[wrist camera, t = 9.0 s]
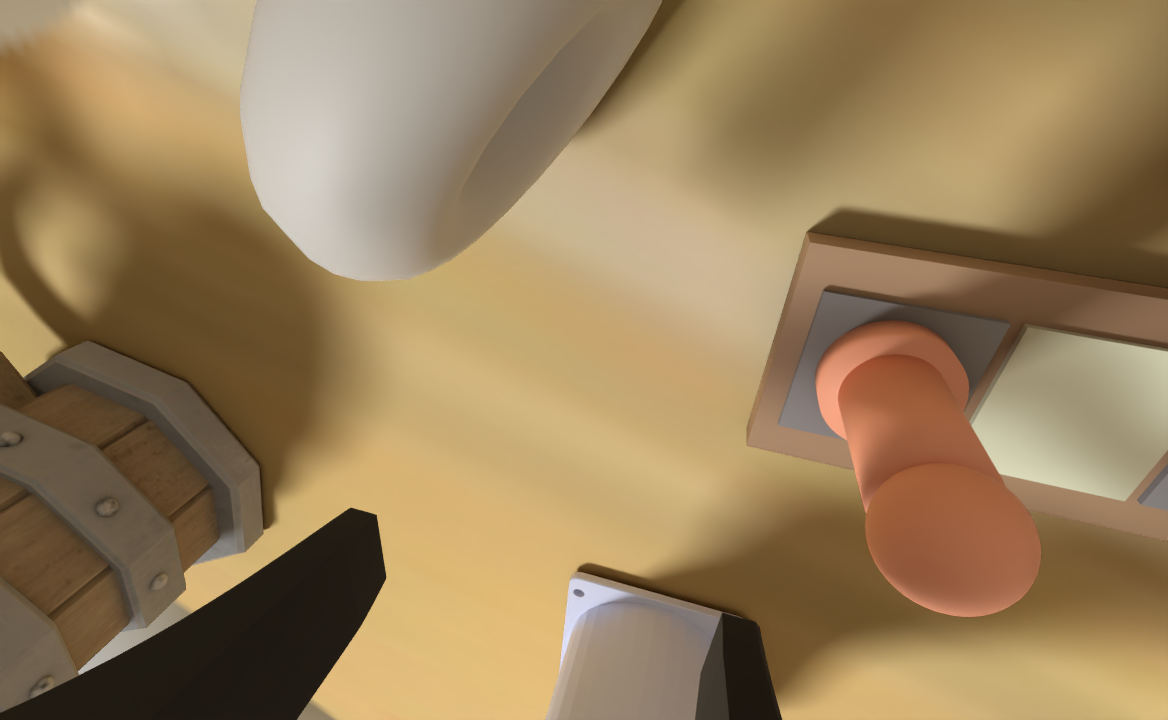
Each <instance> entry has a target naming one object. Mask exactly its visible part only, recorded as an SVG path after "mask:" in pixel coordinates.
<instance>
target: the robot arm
mask: <svg viewBox="0 0 1168 720" xmlns="http://www.w3.org/2000/svg"><path fill="white" fill-rule="evenodd" d="M385 580H386V572H385V566H384V559H383V553H382V546H381V540H380V534H379V527H378V521H377V515H375V514H372V513H368V512H365V511H361V510H357V509H354V508H350V509H348V510H346V511H345V512H343V513H342V514H340V515H339V516H338V517H336V518H335V519H333V520H332V521H330V522H329V523H327V524H326V525H324V526H323V527H322V528H320V529H319V530H317V531H316V532H314V533H313V534H312V535H310V536H309V537H307V538H306V539H304V540H303V541H302V542H300V543H299V544H297V545H296V546H294V547H293V548H291V549H290V550H289V551H287V552H286V553H284V554H283V555H281V556H280V557H278V558H277V559H275V560H274V561H272V562H271V563H269V564H268V565H266V566H265V567H263V568H262V569H260V570H259V571H257V572H256V573H254V574H253V575H251V576H250V577H248V578H247V579H245V580H244V581H242V582H241V583H239V584H238V585H236V586H235V587H233V588H232V589H230V590H229V591H227V592H225V593H224V594H222V595H221V596H219V597H217V598H216V599H214V600H212V601H211V602H209V603H208V604H206V605H204V606H203V607H201V608H200V609H198V610H196V611H195V612H193V613H192V614H190V615H188V616H187V617H185V618H184V619H182V620H180V621H178V622H177V623H175V624H173V625H172V626H170V627H168V628H167V629H165V630H163V631H161V632H159V633H158V634H156V635H154V636H152V637H151V638H149V639H147V640H145V641H143V642H142V643H140V644H138V645H136V646H134V647H132V648H131V649H129V650H127V651H125V652H123V653H122V654H120V655H118V656H116V657H115V658H112V659H110V660H108V661H106V662H104V663H102V664H100V665H98V666H96V667H95V668H93V669H91V670H89V671H87V672H85V673H83V674H81V675H79V676H77V677H75V678H73V679H71V680H69V681H67V682H65V683H62V684H60V685H58V686H56V687H54V688H52V689H50V690H48V691H46V692H44V693H42V694H40V695H38V696H36V697H34V698H32V699H30V700H27V701H25V702H23V703H21V704H18V705H16V706H14V707H12V708H9V709H7V710H5V711H3V712H0V720H297V718H298V717H299V715H300V714H301V713H302V711H303V710H304V708H305V707H306V705H307V704H308V702H309V701H310V700H311V698H312V697H313V695H314V694H315V692H316V691H317V689H318V688H319V687H320V685H321V684H322V682H323V681H324V679H325V678H326V676H327V675H328V674H329V672H330V671H331V669H332V668H333V666H334V665H335V663H336V662H337V660H338V659H339V658H340V656H341V655H342V653H343V652H344V650H345V649H346V647H347V646H348V644H349V643H350V641H351V640H352V638H353V637H354V635H355V634H356V632H357V631H358V629H359V628H360V626H361V625H362V623H363V621H364V619H365V618H366V616H367V614H368V612H369V610H370V609H371V607H372V605H373V603H374V601H375V599H376V597H377V595H378V593H379V591H380V590H381V588H382V586H383V584H384V582H385ZM545 720H782V717H781V714H780V710H779V707H778V703H777V700H776V696H775V692H774V689H773V685H772V681H771V677H770V673H769V669H768V665H767V661H766V656H765V652H764V647H763V643H762V638H761V632H760V627H759V626H758V625H757V623H756V622H754V621H751V620H747V619H744V618H742V617H739V616H736V615H732V614H729V613H725V612H721V611H718V610H714V609H711V608H707V607H704V606H700V605H697V604H693V603H690V602H686V601H682V600H679V599H675V598H672V597H668V596H665V595H661V594H658V593H654V592H651V591H647V590H643V589H640V588H636V587H633V586H629V585H626V584H622V583H619V582H615V581H612V580H608V579H604V578H601V577H597V576H594V575H590V574H587V573H583V572H575V573H574V574H572V576H571V579H570V582H569V590H568V599H567V608H566V617H565V626H564V634H563V643H562V652H561V661H560V670H559V675H558V679H557V682H556V685H555V688H554V692H553V695H552V698H551V702H550V705H549V708H548V712H547V715H546V718H545Z"/></svg>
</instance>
